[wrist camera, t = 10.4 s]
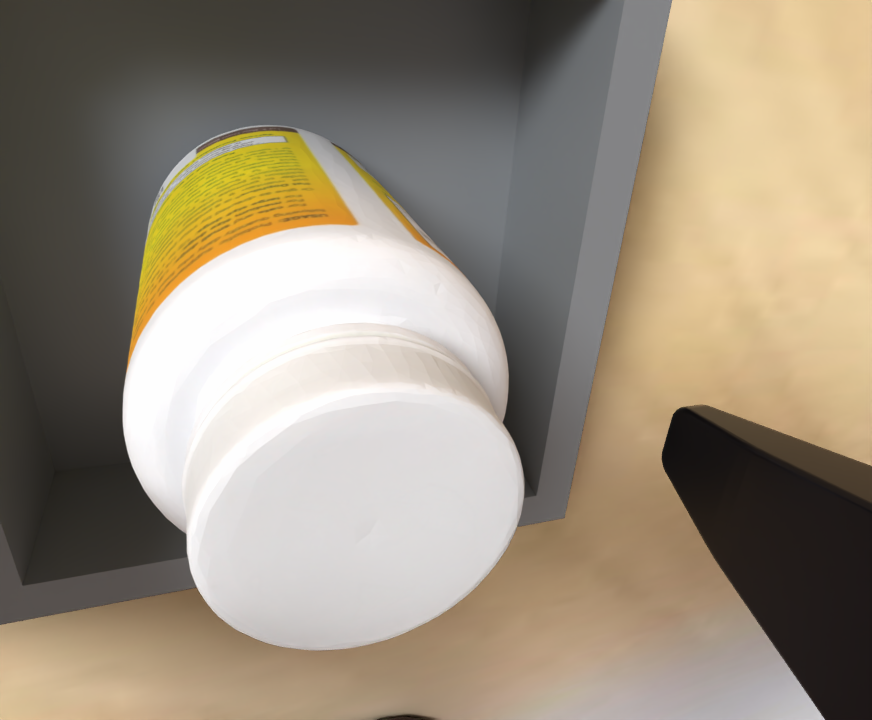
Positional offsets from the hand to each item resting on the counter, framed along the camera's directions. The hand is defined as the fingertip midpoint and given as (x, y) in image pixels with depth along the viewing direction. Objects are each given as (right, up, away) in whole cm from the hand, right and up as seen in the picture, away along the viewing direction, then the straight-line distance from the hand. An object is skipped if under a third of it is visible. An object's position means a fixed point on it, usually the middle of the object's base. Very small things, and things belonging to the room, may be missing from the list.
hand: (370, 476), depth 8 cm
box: (-3, +5, +8) cm, 10 cm away
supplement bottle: (-3, +4, +8) cm, 10 cm away
